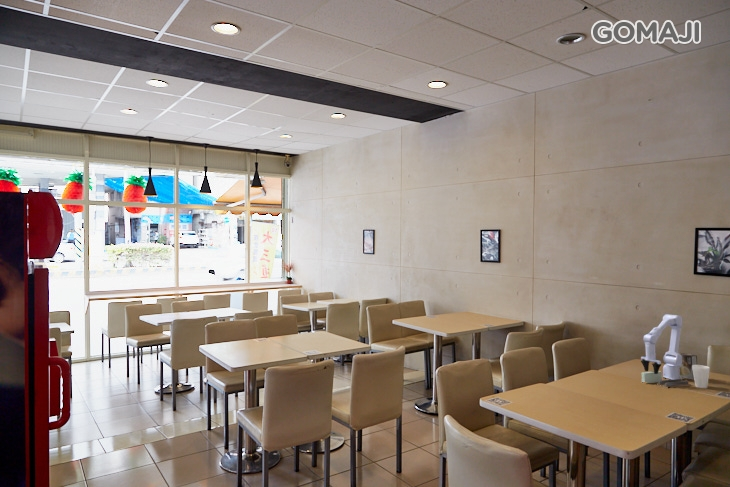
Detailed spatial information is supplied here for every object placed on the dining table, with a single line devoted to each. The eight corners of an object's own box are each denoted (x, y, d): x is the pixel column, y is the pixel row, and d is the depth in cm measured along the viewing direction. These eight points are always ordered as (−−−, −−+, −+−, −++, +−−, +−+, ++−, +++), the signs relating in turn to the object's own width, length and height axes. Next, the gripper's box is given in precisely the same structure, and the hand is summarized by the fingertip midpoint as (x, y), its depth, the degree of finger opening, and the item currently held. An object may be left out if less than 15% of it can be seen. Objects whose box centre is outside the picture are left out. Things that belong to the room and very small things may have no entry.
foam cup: (710, 389, 295) (709, 369, 296) (692, 387, 301) (691, 367, 301) (710, 385, 303) (709, 365, 303) (693, 383, 309) (692, 364, 309)
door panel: (641, 382, 314) (641, 372, 315) (658, 380, 318) (658, 370, 318) (644, 383, 312) (644, 373, 312) (661, 381, 315) (661, 371, 315)
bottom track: (656, 384, 310) (656, 380, 310) (678, 381, 314) (678, 378, 314) (668, 388, 301) (668, 384, 301) (690, 385, 305) (690, 381, 305)
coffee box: (698, 378, 320) (697, 355, 320) (693, 380, 317) (692, 356, 318) (684, 375, 328) (683, 352, 329) (679, 376, 326) (678, 354, 326)
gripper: (637, 350, 321) (637, 370, 321) (654, 355, 307) (655, 375, 307) (645, 349, 323) (646, 369, 323) (663, 354, 309) (664, 374, 309)
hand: (651, 372), depth 315 cm, fingers open, 7 cm apart
